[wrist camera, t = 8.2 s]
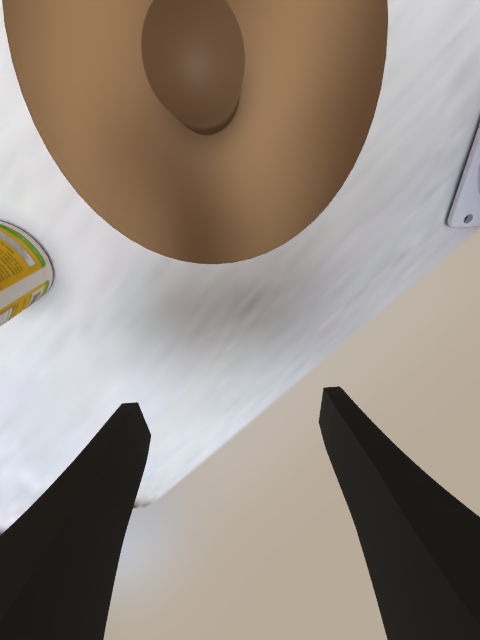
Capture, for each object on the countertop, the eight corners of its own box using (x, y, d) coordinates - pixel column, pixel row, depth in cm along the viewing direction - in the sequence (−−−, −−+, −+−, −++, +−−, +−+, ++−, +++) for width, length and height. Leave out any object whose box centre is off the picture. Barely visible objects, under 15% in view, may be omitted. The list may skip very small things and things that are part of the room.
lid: (430, -231, 6) (649, -658, 3) (339, 254, 12) (378, 286, 9) (-74, -236, 6) (-433, -710, 3) (91, 262, 12) (42, 298, 9)
